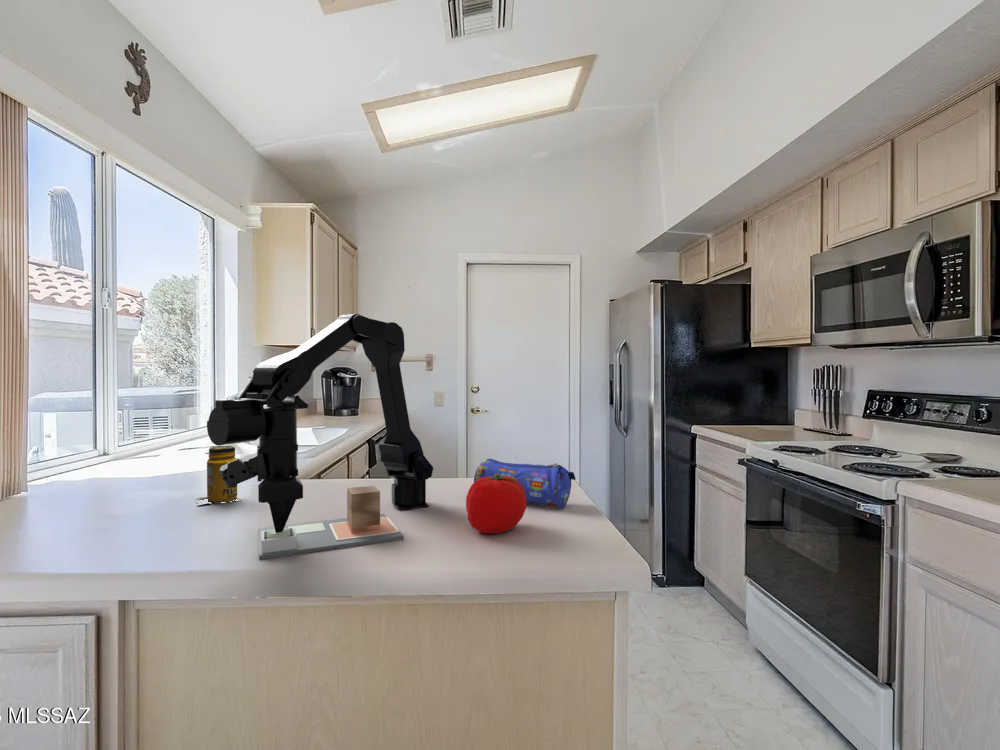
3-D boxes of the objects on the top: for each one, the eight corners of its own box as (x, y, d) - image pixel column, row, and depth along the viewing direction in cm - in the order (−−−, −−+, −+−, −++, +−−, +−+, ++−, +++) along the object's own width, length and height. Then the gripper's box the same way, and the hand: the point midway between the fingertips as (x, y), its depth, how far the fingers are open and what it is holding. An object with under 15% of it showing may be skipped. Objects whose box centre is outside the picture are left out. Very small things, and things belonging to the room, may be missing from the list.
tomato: (450, 531, 96) (450, 476, 96) (495, 516, 106) (495, 466, 106) (496, 545, 89) (497, 485, 89) (540, 527, 99) (540, 473, 99)
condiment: (241, 501, 117) (240, 447, 117) (197, 507, 113) (196, 451, 112) (236, 494, 123) (236, 443, 123) (195, 499, 119) (194, 446, 119)
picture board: (383, 516, 106) (383, 503, 106) (403, 538, 92) (403, 524, 92) (258, 531, 96) (258, 517, 96) (259, 559, 83) (258, 542, 83)
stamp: (374, 522, 100) (374, 485, 100) (380, 529, 95) (380, 491, 95) (347, 525, 98) (347, 488, 97) (351, 533, 93) (351, 494, 93)
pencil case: (576, 504, 116) (576, 460, 116) (563, 514, 109) (563, 467, 108) (488, 493, 126) (488, 453, 126) (470, 501, 118) (470, 459, 118)
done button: (289, 538, 89) (289, 527, 89) (291, 545, 86) (291, 533, 86) (266, 541, 88) (266, 529, 88) (267, 548, 85) (267, 536, 85)
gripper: (225, 433, 92) (226, 522, 92) (219, 449, 75) (220, 558, 75) (294, 430, 96) (294, 514, 97) (303, 444, 79) (303, 546, 80)
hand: (279, 531), depth 87 cm, fingers closed, pressing on done button
